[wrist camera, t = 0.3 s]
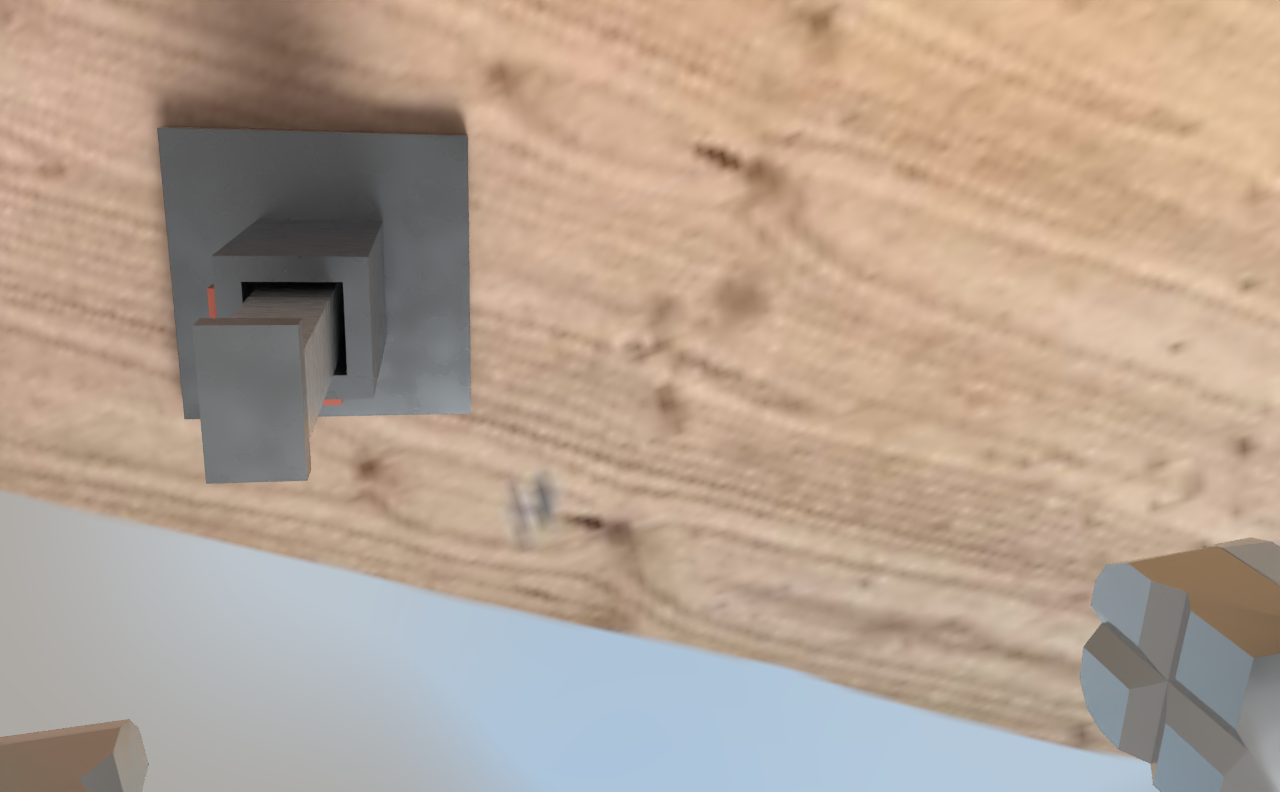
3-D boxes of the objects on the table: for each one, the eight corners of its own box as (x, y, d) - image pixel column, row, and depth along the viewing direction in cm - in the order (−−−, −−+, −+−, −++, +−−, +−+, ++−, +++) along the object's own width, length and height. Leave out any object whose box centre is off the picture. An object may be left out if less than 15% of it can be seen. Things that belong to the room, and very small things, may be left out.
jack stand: (165, 126, 49) (83, 142, 38) (467, 134, 52) (473, 152, 41) (191, 409, 53) (123, 500, 42) (469, 405, 56) (476, 489, 45)
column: (285, 229, 50) (188, 325, 31) (354, 230, 50) (301, 325, 32) (291, 332, 51) (202, 483, 32) (359, 331, 52) (310, 480, 33)
